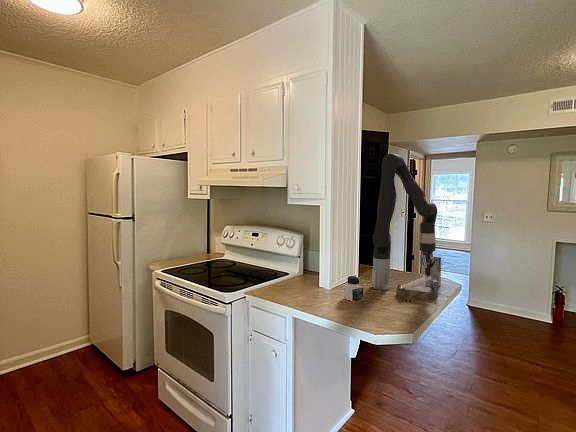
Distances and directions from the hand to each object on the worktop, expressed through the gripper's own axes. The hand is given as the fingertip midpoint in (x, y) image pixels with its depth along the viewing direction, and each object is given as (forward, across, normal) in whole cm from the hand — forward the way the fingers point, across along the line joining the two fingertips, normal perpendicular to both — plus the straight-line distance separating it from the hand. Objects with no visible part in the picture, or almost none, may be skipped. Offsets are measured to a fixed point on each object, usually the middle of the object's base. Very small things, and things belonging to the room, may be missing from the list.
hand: (427, 274), depth 167 cm
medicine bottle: (+11, +2, -39) cm, 40 cm away
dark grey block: (+12, 0, +4) cm, 12 cm away
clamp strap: (+4, 0, -6) cm, 8 cm away
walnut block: (+12, 0, -6) cm, 13 cm away
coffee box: (+12, -20, +12) cm, 26 cm away
